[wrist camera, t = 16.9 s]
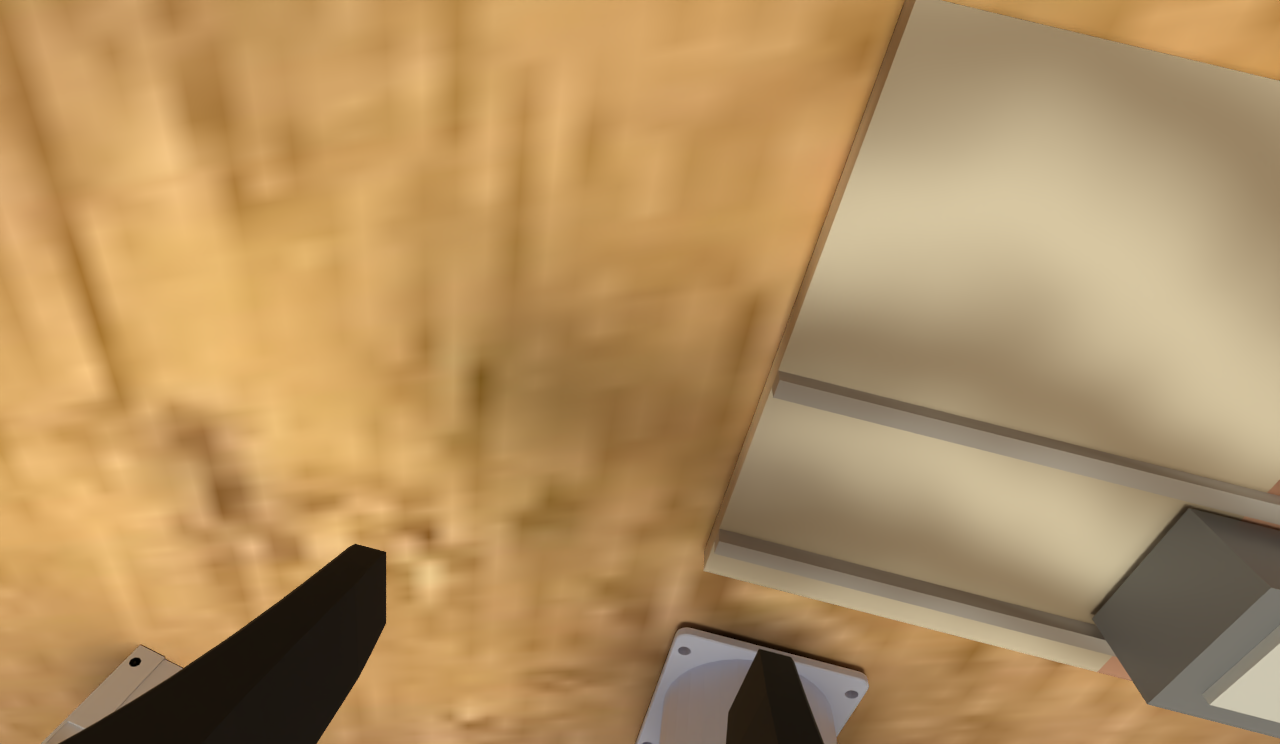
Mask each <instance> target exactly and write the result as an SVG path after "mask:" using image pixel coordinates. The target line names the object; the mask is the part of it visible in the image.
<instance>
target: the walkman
mask: <svg viewBox="0 0 1280 744" xmlns="http://www.w3.org/2000/svg"><path fill="white" fill-rule="evenodd" d="M182 669H183V668H181V667H179V666H177V665H175V664H173V663H171V662H169V661H167V660H165V657H163V656H161V655H159V654H157V653H155V652H153V651H152V650H150V649H148V648H146V647H144V646H141V645H140V646H139V647H138V648H137V649H136V650H135V651H134V652H133V653H132V654H131V655H130V656H129V657H128V658H127V659H125V660H124V661H123V662H122V663H121V664H120V665H119V666H118V667H117V668H116V669H115V670H114V671H113V672H112V673H111V674H110V675H109V676H108V677H107V678H106V679H105V680H104V681H103V682H102V683H101V684H100V685H99V686H98V687H97V688H96V689H95V690H94V691H93V692H92V693H91V694H90V695H89V696H88V697H87V698H86V699H85V700H84V701H83V702H82V703H81V704H80V705H79V706H78V707H77V708H76V709H75V710H74V711H73V712H72V713H71V714H70V715H69V716H68V717H67V718H66V719H65V720H64V721H63V722H62V723H61V724H60V725H59V726H58V727H57V728H56V729H55V730H54V731H53V732H52V733H51V734H50V735H49V736H48V737H47V738H46V739H45V740H44V741H43V742H42V743H41V744H58V743H60V742H62V741H64V740H66V739H67V738H69V737H71V736H73V735H75V734H76V733H78V732H80V731H82V730H83V729H85V728H87V727H89V726H91V725H92V724H94V723H96V722H97V721H99V720H101V719H103V718H104V717H106V716H108V715H109V714H111V713H113V712H114V711H116V710H118V709H119V708H121V707H123V706H124V705H126V704H128V703H129V702H131V701H133V700H134V699H136V698H138V697H139V696H141V695H142V694H144V693H146V692H147V691H149V690H150V689H152V688H154V687H155V686H157V685H158V684H160V683H162V682H163V681H165V680H166V679H168V678H169V677H171V676H172V675H174V674H176V673H177V672H179V671H180V670H182Z"/></svg>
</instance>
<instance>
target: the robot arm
mask: <svg viewBox="0 0 1280 744" xmlns="http://www.w3.org/2000/svg"><path fill="white" fill-rule="evenodd" d="M385 624H386V552H384V551H380V550H377V549H373V548H369V547H365V546H361V545H357V544H354V545H352V546H350V547H349V548H347V549H346V550H345V551H343V552H342V553H341V554H340V555H338V556H337V557H336V558H335V559H333V560H332V561H331V562H329V563H328V564H327V565H326V566H324V567H323V568H322V569H321V570H319V571H318V572H317V573H315V574H314V575H313V576H312V577H310V578H309V579H308V580H306V581H305V582H304V583H303V584H301V585H300V586H299V587H297V588H296V589H295V590H293V591H292V592H291V593H289V594H288V595H287V596H285V597H284V598H283V599H281V600H280V601H279V602H277V603H276V604H275V605H273V606H272V607H271V608H269V609H268V610H266V611H265V612H264V613H262V614H261V615H260V616H258V617H257V618H255V619H254V620H253V621H251V622H250V623H249V624H247V625H246V626H244V627H243V628H242V629H240V630H239V631H238V632H236V633H235V634H233V635H232V636H230V637H229V638H228V639H226V640H225V641H223V642H222V643H220V644H219V645H217V646H216V647H214V648H213V649H211V650H210V651H208V652H207V653H205V654H204V655H202V656H201V657H199V658H198V659H196V660H195V661H193V662H192V663H190V664H189V665H187V666H186V667H185V668H183V669H182V670H180V671H179V672H177V673H176V674H174V675H172V676H171V677H169V678H168V679H166V680H165V681H163V682H162V683H160V684H158V685H157V686H155V687H154V688H152V689H150V690H149V691H147V692H146V693H144V694H142V695H141V696H139V697H138V698H136V699H134V700H133V701H131V702H129V703H128V704H126V705H124V706H123V707H121V708H119V709H118V710H116V711H114V712H113V713H111V714H109V715H108V716H106V717H104V718H103V719H101V720H99V721H97V722H96V723H94V724H92V725H91V726H89V727H87V728H85V729H83V730H82V731H80V732H78V733H76V734H75V735H73V736H71V737H69V738H67V739H66V740H64V741H62V742H60V743H58V744H317V742H318V740H319V739H320V737H321V736H322V734H323V733H324V731H325V730H326V728H327V726H328V725H329V723H330V722H331V720H332V719H333V717H334V716H335V714H336V712H337V711H338V709H339V708H340V706H341V705H342V703H343V701H344V700H345V698H346V697H347V695H348V694H349V692H350V690H351V689H352V687H353V686H354V684H355V682H356V681H357V679H358V678H359V676H360V674H361V672H362V670H363V668H364V666H365V664H366V662H367V660H368V658H369V656H370V655H371V653H372V651H373V649H374V647H375V645H376V642H377V640H378V638H379V636H380V634H381V632H382V630H383V628H384V626H385ZM868 688H869V684H868V679H867V676H866V675H865V674H864V673H861V672H859V671H855V670H852V669H848V668H844V667H840V666H836V665H832V664H828V663H824V662H821V661H817V660H813V659H809V658H805V657H801V656H797V655H794V654H790V653H786V652H782V651H778V650H774V649H770V648H767V647H763V646H759V645H755V644H751V643H747V642H743V641H740V640H736V639H732V638H728V637H724V636H720V635H716V634H713V633H709V632H705V631H701V630H697V629H693V628H688V627H685V628H681V629H679V630H678V631H677V632H676V634H675V637H674V640H673V642H672V645H671V648H670V651H669V653H668V656H667V659H666V662H665V664H664V667H663V670H662V672H661V675H660V678H659V681H658V683H657V686H656V689H655V692H654V694H653V697H652V700H651V702H650V705H649V708H648V711H647V713H646V716H645V719H644V722H643V724H642V727H641V730H640V732H639V735H638V738H637V741H636V743H635V744H837V739H836V737H837V736H838V734H839V733H840V731H841V730H842V728H843V727H844V725H845V724H846V722H847V721H848V719H849V717H850V716H851V714H852V713H853V711H854V710H855V708H856V707H857V705H858V704H859V702H860V701H861V699H862V698H863V696H864V695H865V693H866V692H867V690H868Z"/></svg>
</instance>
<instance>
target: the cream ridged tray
mask: <svg viewBox="0 0 1280 744" xmlns="http://www.w3.org/2000/svg"><path fill="white" fill-rule="evenodd" d="M1189 508H1191V509H1195V510H1199V511H1203V512H1207V513H1211V514H1215V515H1219V516H1223V517H1227V518H1231V519H1235V520H1239V521H1243V522H1247V523H1251V524H1255V525H1259V526H1263V527H1267V528H1271V529H1275V530H1279V531H1280V81H1278V80H1274V79H1270V78H1266V77H1261V76H1257V75H1253V74H1249V73H1245V72H1240V71H1236V70H1232V69H1228V68H1223V67H1219V66H1215V65H1211V64H1207V63H1202V62H1198V61H1194V60H1190V59H1186V58H1181V57H1177V56H1173V55H1169V54H1165V53H1160V52H1156V51H1152V50H1148V49H1144V48H1139V47H1135V46H1131V45H1127V44H1123V43H1118V42H1114V41H1110V40H1106V39H1102V38H1097V37H1093V36H1089V35H1085V34H1080V33H1076V32H1072V31H1068V30H1064V29H1059V28H1055V27H1051V26H1047V25H1043V24H1038V23H1034V22H1030V21H1026V20H1022V19H1017V18H1013V17H1009V16H1005V15H1001V14H996V13H992V12H988V11H984V10H980V9H975V8H971V7H967V6H963V5H959V4H954V3H950V2H946V1H942V0H905V3H904V5H903V8H902V11H901V14H900V16H899V19H898V22H897V25H896V27H895V30H894V33H893V35H892V38H891V41H890V44H889V46H888V49H887V52H886V55H885V57H884V60H883V63H882V66H881V68H880V71H879V74H878V77H877V79H876V82H875V85H874V88H873V90H872V93H871V96H870V99H869V101H868V104H867V107H866V109H865V112H864V115H863V118H862V120H861V123H860V126H859V129H858V131H857V134H856V137H855V140H854V142H853V145H852V148H851V151H850V153H849V156H848V159H847V162H846V164H845V167H844V170H843V173H842V175H841V178H840V181H839V184H838V186H837V189H836V192H835V194H834V197H833V200H832V203H831V205H830V208H829V211H828V214H827V216H826V219H825V222H824V225H823V227H822V230H821V233H820V236H819V238H818V241H817V244H816V247H815V249H814V252H813V255H812V258H811V260H810V263H809V266H808V269H807V271H806V274H805V277H804V279H803V282H802V285H801V288H800V290H799V293H798V296H797V299H796V301H795V304H794V307H793V310H792V312H791V315H790V318H789V321H788V323H787V326H786V329H785V332H784V334H783V337H782V340H781V343H780V345H779V348H778V351H777V354H776V356H775V359H774V362H773V364H772V367H771V370H770V373H769V375H768V378H767V381H766V384H765V386H764V389H763V392H762V395H761V397H760V400H759V403H758V406H757V408H756V411H755V414H754V417H753V419H752V422H751V425H750V428H749V430H748V433H747V436H746V439H745V441H744V444H743V447H742V449H741V452H740V455H739V458H738V460H737V463H736V466H735V469H734V471H733V474H732V477H731V480H730V482H729V485H728V488H727V491H726V493H725V496H724V499H723V502H722V504H721V507H720V510H719V513H718V515H717V518H716V521H715V523H714V526H713V529H712V532H711V534H710V537H709V540H708V543H707V545H706V548H705V552H704V571H706V572H710V573H714V574H718V575H722V576H726V577H730V578H734V579H737V580H741V581H745V582H749V583H753V584H757V585H761V586H765V587H769V588H772V589H776V590H780V591H784V592H788V593H792V594H796V595H800V596H804V597H807V598H811V599H815V600H819V601H823V602H827V603H831V604H835V605H838V606H842V607H846V608H850V609H854V610H858V611H862V612H866V613H870V614H873V615H877V616H881V617H885V618H889V619H893V620H897V621H901V622H905V623H908V624H912V625H916V626H920V627H924V628H928V629H932V630H936V631H940V632H943V633H947V634H951V635H955V636H959V637H963V638H967V639H971V640H975V641H978V642H982V643H986V644H990V645H994V646H998V647H1002V648H1006V649H1010V650H1013V651H1017V652H1021V653H1025V654H1029V655H1033V656H1037V657H1041V658H1045V659H1048V660H1052V661H1056V662H1060V663H1064V664H1068V665H1072V666H1076V667H1079V668H1083V669H1087V670H1091V671H1095V672H1099V673H1103V674H1107V675H1111V676H1114V677H1118V678H1122V679H1126V680H1130V681H1132V680H1131V678H1130V677H1129V675H1128V674H1127V672H1126V670H1125V669H1124V667H1123V666H1122V664H1121V663H1120V661H1119V660H1118V658H1117V657H1116V655H1115V654H1114V652H1113V650H1112V649H1111V647H1110V646H1109V644H1108V643H1107V641H1106V640H1105V638H1104V637H1103V635H1102V634H1101V632H1100V630H1099V629H1098V627H1097V626H1096V624H1095V623H1094V621H1093V620H1092V618H1093V617H1094V616H1095V615H1096V613H1097V612H1098V611H1099V610H1100V609H1101V608H1102V607H1103V605H1104V604H1105V603H1106V602H1107V601H1108V600H1109V599H1110V598H1111V596H1112V595H1113V594H1114V593H1115V592H1116V591H1117V590H1118V588H1119V587H1120V586H1121V585H1122V584H1123V583H1124V582H1125V580H1126V579H1127V578H1128V577H1129V576H1130V575H1131V574H1132V572H1133V571H1134V570H1135V569H1136V568H1137V567H1138V566H1139V564H1140V563H1141V562H1142V561H1143V560H1144V559H1145V558H1146V556H1147V555H1148V554H1149V553H1150V552H1151V551H1152V550H1153V548H1154V547H1155V546H1156V545H1157V544H1158V543H1159V542H1160V541H1161V539H1162V538H1163V537H1164V536H1165V535H1166V534H1167V533H1168V531H1169V530H1170V529H1171V528H1172V527H1173V526H1174V525H1175V523H1176V522H1177V521H1178V520H1179V519H1180V518H1181V517H1182V515H1183V514H1184V513H1185V512H1186V511H1187V510H1188V509H1189Z"/></svg>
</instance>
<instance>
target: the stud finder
mask: <svg viewBox="0 0 1280 744" xmlns="http://www.w3.org/2000/svg"><path fill="white" fill-rule="evenodd" d="M1092 620H1093V621H1094V623H1095V624H1096V626H1097V627H1098V629H1099V630H1100V632H1101V634H1102V635H1103V637H1104V638H1105V640H1106V641H1107V643H1108V644H1109V646H1110V647H1111V649H1112V650H1113V652H1114V654H1115V655H1116V657H1117V658H1118V660H1119V661H1120V663H1121V664H1122V666H1123V667H1124V669H1125V670H1126V672H1127V674H1128V675H1129V677H1130V678H1131V680H1132V681H1133V683H1134V684H1135V686H1136V687H1137V689H1138V690H1139V692H1140V694H1141V695H1142V697H1143V698H1144V700H1145V701H1146V703H1147V704H1149V705H1152V706H1156V707H1160V708H1164V709H1168V710H1172V711H1176V712H1180V713H1184V714H1187V715H1191V716H1195V717H1199V718H1203V719H1207V720H1211V721H1215V722H1218V723H1222V724H1226V725H1230V726H1234V727H1238V728H1242V729H1246V730H1249V731H1253V732H1257V733H1261V734H1265V735H1269V736H1273V737H1277V738H1280V531H1279V530H1275V529H1271V528H1267V527H1263V526H1259V525H1255V524H1251V523H1247V522H1243V521H1239V520H1235V519H1231V518H1227V517H1223V516H1219V515H1215V514H1211V513H1207V512H1203V511H1199V510H1195V509H1191V508H1189V509H1188V510H1187V511H1186V512H1185V513H1184V514H1183V515H1182V517H1181V518H1180V519H1179V520H1178V521H1177V522H1176V523H1175V525H1174V526H1173V527H1172V528H1171V529H1170V530H1169V531H1168V533H1167V534H1166V535H1165V536H1164V537H1163V538H1162V539H1161V541H1160V542H1159V543H1158V544H1157V545H1156V546H1155V547H1154V548H1153V550H1152V551H1151V552H1150V553H1149V554H1148V555H1147V556H1146V558H1145V559H1144V560H1143V561H1142V562H1141V563H1140V564H1139V566H1138V567H1137V568H1136V569H1135V570H1134V571H1133V572H1132V574H1131V575H1130V576H1129V577H1128V578H1127V579H1126V580H1125V582H1124V583H1123V584H1122V585H1121V586H1120V587H1119V588H1118V590H1117V591H1116V592H1115V593H1114V594H1113V595H1112V596H1111V598H1110V599H1109V600H1108V601H1107V602H1106V603H1105V604H1104V605H1103V607H1102V608H1101V609H1100V610H1099V611H1098V612H1097V613H1096V615H1095V616H1094V617H1093V618H1092Z"/></svg>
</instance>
